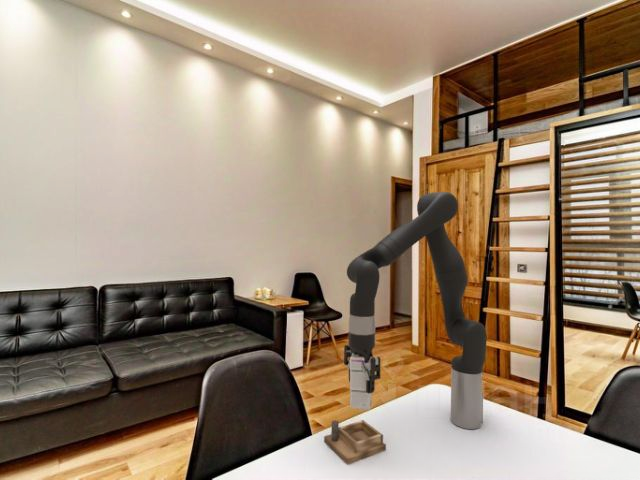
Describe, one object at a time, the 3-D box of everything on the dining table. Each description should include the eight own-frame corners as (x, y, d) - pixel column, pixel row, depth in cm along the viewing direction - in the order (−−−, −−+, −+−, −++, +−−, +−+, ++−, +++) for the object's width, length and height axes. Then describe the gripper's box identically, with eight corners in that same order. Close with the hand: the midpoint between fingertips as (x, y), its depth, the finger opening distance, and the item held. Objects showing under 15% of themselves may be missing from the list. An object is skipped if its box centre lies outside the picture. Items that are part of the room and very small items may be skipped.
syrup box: (370, 410, 100) (371, 358, 100) (349, 408, 101) (349, 356, 101) (371, 401, 105) (372, 351, 105) (351, 399, 107) (352, 350, 106)
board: (360, 429, 112) (360, 408, 111) (386, 450, 101) (386, 427, 101) (324, 441, 105) (324, 419, 105) (347, 464, 95) (348, 440, 95)
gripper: (388, 334, 99) (387, 394, 99) (357, 323, 111) (356, 375, 111) (366, 338, 95) (365, 400, 95) (336, 325, 107) (336, 380, 107)
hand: (360, 387), depth 103 cm, fingers closed on syrup box, 8 cm apart
